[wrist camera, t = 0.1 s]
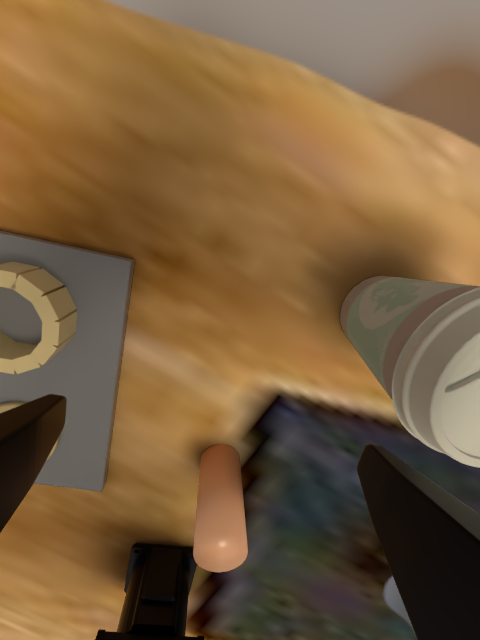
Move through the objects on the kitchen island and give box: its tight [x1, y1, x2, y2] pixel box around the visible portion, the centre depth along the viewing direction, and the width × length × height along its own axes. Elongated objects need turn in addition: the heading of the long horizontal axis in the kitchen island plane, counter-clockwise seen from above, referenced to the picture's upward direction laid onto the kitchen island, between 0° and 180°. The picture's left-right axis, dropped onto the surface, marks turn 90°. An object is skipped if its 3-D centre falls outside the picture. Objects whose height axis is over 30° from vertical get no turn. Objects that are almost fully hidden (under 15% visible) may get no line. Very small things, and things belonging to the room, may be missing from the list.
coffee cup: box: [340, 276, 480, 467], centre depth 18 cm, size 8×8×12 cm
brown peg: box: [193, 444, 248, 572], centre depth 23 cm, size 4×4×8 cm
